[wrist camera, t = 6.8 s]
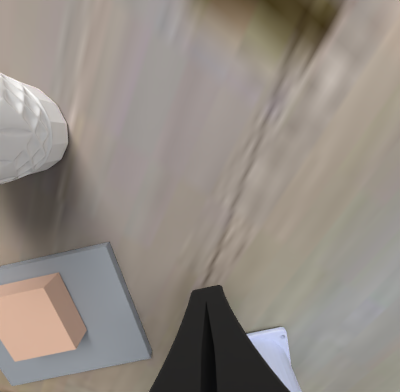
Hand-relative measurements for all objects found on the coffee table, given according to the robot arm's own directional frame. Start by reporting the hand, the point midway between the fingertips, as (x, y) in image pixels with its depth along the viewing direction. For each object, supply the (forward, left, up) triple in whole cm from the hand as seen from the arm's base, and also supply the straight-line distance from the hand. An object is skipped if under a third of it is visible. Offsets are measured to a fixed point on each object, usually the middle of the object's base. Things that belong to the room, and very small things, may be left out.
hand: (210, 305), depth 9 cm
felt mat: (-7, +17, -10) cm, 21 cm away
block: (-5, +14, -8) cm, 17 cm away
